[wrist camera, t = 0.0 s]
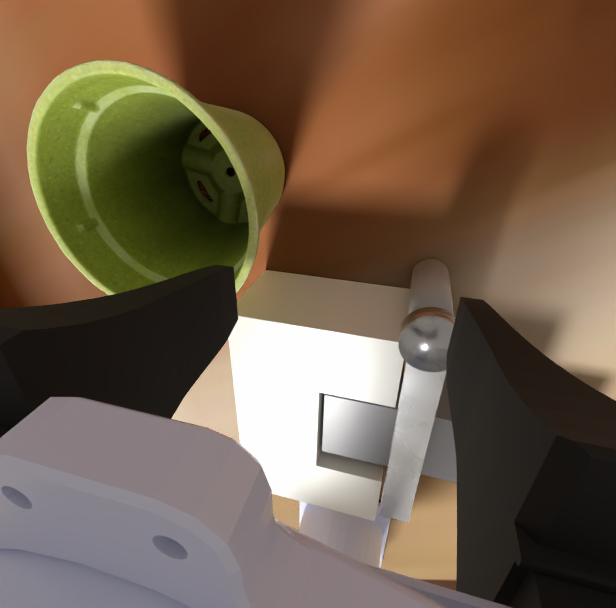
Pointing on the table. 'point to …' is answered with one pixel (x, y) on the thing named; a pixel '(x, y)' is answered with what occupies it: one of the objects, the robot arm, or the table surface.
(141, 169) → the plant pot
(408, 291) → the socket block
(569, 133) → the table surface
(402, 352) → the flat metal lever
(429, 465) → the plug
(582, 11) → the table surface
